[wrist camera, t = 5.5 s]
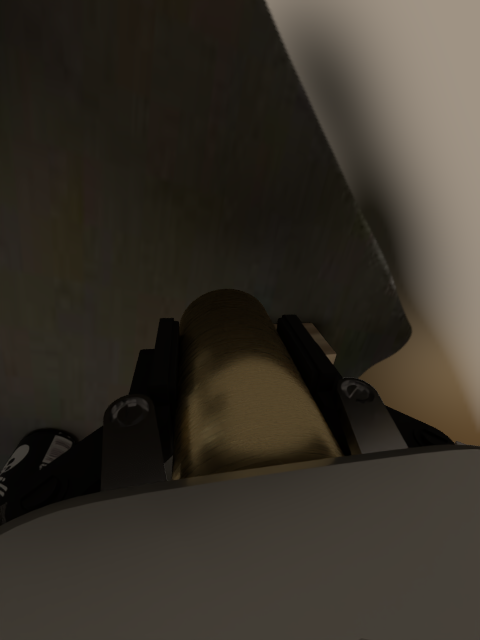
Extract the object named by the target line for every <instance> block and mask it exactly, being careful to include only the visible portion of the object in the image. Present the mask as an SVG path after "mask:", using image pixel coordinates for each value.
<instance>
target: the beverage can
mask: <svg viewBox="0 0 480 640" xmlns="http://www.w3.org/2000/svg"><path fill="white" fill-rule="evenodd" d="M74 445H76V444H75V442H74V440H73V439H72V438H71V437H70V436H68V435H66V434H64V433H61V432H57V431H40V432H37V433H34V434H32V435H30V436H27V437H26V438H24V439H23V440H21V441H20V443H19V444H18V446H17V447H16V449H15V451H14V452H13V454H12V455H11V457H10V459H9V460H8V462H7V463H6V465H5V467H4V468H3V470H2V472H1V473H0V506H1V505H3V504H5V503H6V502H8V501H9V499H10V497H11V495H12V494H13V493H14V492H15V490H16V489H17V488H18V487H19V486H20V485H21V484H22V483H23V482H24V481H25V480H27V479H28V478H29V477H30V476H32V475H33V474H35V473H36V472H37V471H39V470H40V469H42V468H43V467H45V466H46V465H47V464H49V463H50V462H52V461H53V460H55V459H56V458H57V457H59V456H60V455H62V454H63V453H64V452H66V451H67V450H69V449H70V448H72V447H73V446H74Z"/></svg>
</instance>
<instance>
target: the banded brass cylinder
mask: <svg viewBox="0 0 480 640" xmlns="http://www.w3.org/2000/svg"><path fill="white" fill-rule="evenodd" d="M179 332H180V343H179V366H178V389H177V407H176V412H175V425H174V445H173V466H172V480H177V479H184V478H191V477H198V476H205V475H212V474H219V473H226V472H233V471H240V470H247V469H254V468H262V467H269V466H276V465H283V464H290V463H298V462H305V461H312V460H320V459H327V458H335V457H342V456H344V454H343V452H342V450H341V448H340V447H339V445H338V443H337V441H336V439H335V437H334V435H333V434H332V432H331V430H330V428H329V426H328V424H327V423H326V421H325V419H324V417H323V415H322V413H321V412H320V410H319V408H318V406H317V404H316V402H315V400H314V399H313V397H312V395H311V393H310V391H309V389H308V388H307V386H306V384H305V382H304V380H303V378H302V377H301V375H300V373H299V371H298V369H297V367H296V366H295V364H294V362H293V360H292V358H291V356H290V354H289V353H288V351H287V349H286V347H285V345H284V343H283V342H282V340H281V338H280V336H279V334H278V332H277V331H276V329H275V327H274V325H273V323H272V321H271V319H270V318H269V316H268V314H267V312H266V310H265V309H264V307H263V305H262V304H261V303H260V302H259V301H258V300H257V299H256V298H255V297H253V296H252V295H250V294H248V293H246V292H243V291H240V290H235V289H220V290H215V291H211V292H208V293H206V294H204V295H202V296H200V297H199V298H197V299H196V300H195V301H193V302H192V303H191V304H190V305H189V306H188V308H187V309H186V310H185V312H184V314H183V316H182V318H181V321H180V326H179Z"/></svg>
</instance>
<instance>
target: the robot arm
mask: <svg viewBox="0 0 480 640" xmlns="http://www.w3.org/2000/svg"><path fill="white" fill-rule="evenodd" d="M276 331H277V332H278V334H279V336H280V338H281V340H282V342H283V343H284V345H285V347H286V349H287V351H288V353H289V354H290V356H291V358H292V360H293V362H294V364H295V366H296V367H297V369H298V371H299V373H300V375H301V377H302V378H303V380H304V382H305V384H306V386H307V388H308V389H309V391H310V393H311V395H312V397H313V399H314V400H315V402H316V404H317V406H318V408H319V410H320V412H321V413H322V415H323V417H324V419H325V421H326V423H327V424H328V426H329V428H330V430H331V432H332V434H333V435H334V437H335V439H336V441H337V443H338V445H339V447H340V448H341V450H342V452H343V454H344V456H342V457H335V458H327V459H320V460H312V461H305V462H298V463H290V464H283V465H276V466H269V467H262V468H254V469H247V470H240V471H233V472H226V473H219V474H212V475H205V476H198V477H191V478H184V479H177V480H170V481H167V478H166V472H165V466H164V463H165V462H166V461H167V460H168V459H169V458H170V457H171V456H172V455H173V445H174V425H175V412H176V407H177V389H178V366H179V343H180V332H179V321H174V318H160V322H159V327H158V333H157V338H156V344H155V349H143V350H140V353H139V357H138V361H137V365H136V369H135V372H134V376H133V380H132V384H131V388H130V392H129V395H126V396H123V397H120V398H119V399H117V400H115V401H114V402H113V403H111V404H110V405H109V406H108V408H107V409H106V411H105V413H104V417H103V426H102V427H100V428H99V429H97V430H96V431H94V432H93V433H92V434H90V435H89V436H87V437H86V438H84V439H83V440H82V441H80V442H79V443H77V444H76V445H74V446H73V447H72V448H70V449H69V450H67V451H66V452H64V453H63V454H62V455H60V456H59V457H57V458H56V459H55V460H53V461H52V462H50V463H49V464H47V465H46V466H45V467H43V468H42V469H40V470H39V471H37V472H36V473H35V474H33V475H32V476H30V477H29V478H28V479H27V480H25V481H24V482H23V483H22V484H21V485H20V486H19V487H18V488H17V489H16V490H15V492H14V493H13V494H12V495H11V497H10V499H9V501H8V502H6V503H5V504H3V505H1V506H0V640H480V446H473V445H466V444H463V443H461V442H458V441H456V442H455V444H454V442H453V441H452V440H451V439H450V438H449V437H448V436H446V435H445V434H444V433H443V432H441V431H439V430H438V429H436V428H434V427H432V426H430V425H428V424H425V423H423V422H421V421H419V420H416V419H414V418H412V417H410V416H408V415H405V414H403V413H401V412H399V411H397V410H394V409H392V408H390V407H388V406H385V405H384V403H383V401H382V400H381V398H380V396H379V394H378V392H377V391H376V390H375V389H374V388H373V387H372V386H371V385H370V384H368V383H366V382H365V381H363V380H360V379H358V378H352V377H345V378H342V376H341V375H340V373H339V372H338V371H337V369H336V368H335V367H334V365H333V364H332V363H331V361H330V360H329V358H328V357H327V356H326V354H325V353H324V352H323V350H322V349H321V348H320V346H319V345H318V344H317V343H316V342H315V340H314V339H313V338H312V336H311V335H310V333H309V332H308V331H307V329H306V328H305V327H304V325H303V324H302V322H301V321H300V320H299V318H298V317H297V316H296V315H283V316H282V318H279V319H278V323H277V329H276Z"/></svg>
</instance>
